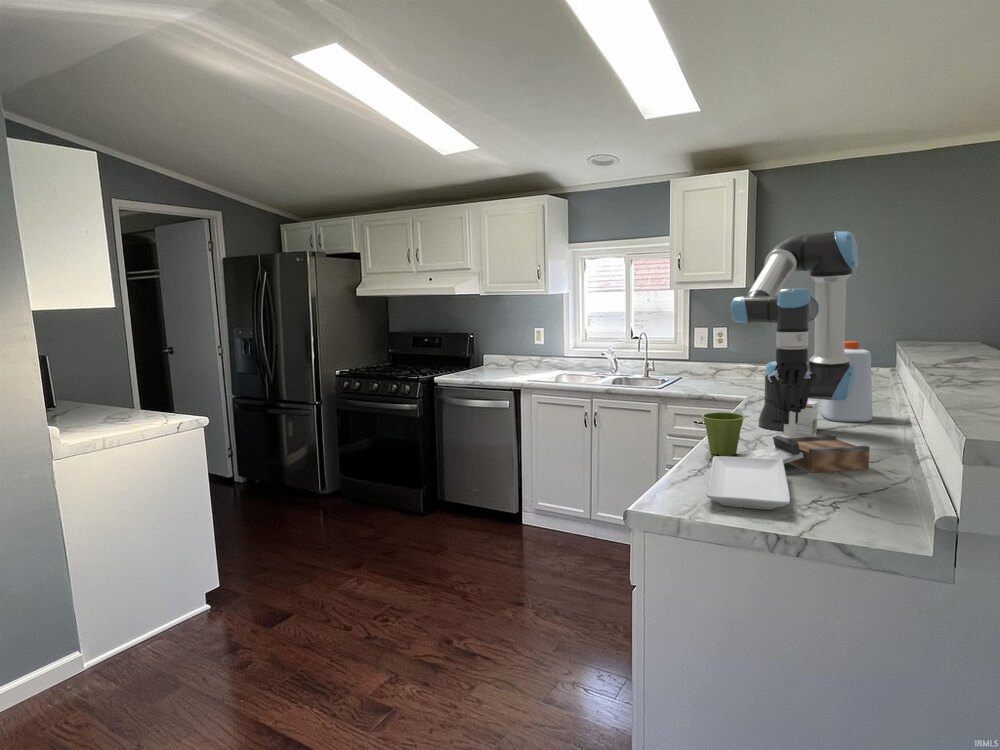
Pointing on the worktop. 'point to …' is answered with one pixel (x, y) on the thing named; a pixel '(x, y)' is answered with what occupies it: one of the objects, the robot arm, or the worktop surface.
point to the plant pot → (723, 432)
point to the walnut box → (830, 454)
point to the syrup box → (807, 420)
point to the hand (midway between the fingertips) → (789, 435)
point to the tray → (748, 482)
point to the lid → (778, 451)
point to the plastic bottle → (853, 390)
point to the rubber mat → (793, 469)
